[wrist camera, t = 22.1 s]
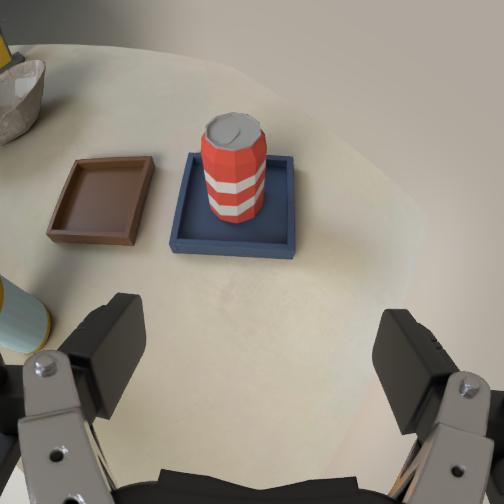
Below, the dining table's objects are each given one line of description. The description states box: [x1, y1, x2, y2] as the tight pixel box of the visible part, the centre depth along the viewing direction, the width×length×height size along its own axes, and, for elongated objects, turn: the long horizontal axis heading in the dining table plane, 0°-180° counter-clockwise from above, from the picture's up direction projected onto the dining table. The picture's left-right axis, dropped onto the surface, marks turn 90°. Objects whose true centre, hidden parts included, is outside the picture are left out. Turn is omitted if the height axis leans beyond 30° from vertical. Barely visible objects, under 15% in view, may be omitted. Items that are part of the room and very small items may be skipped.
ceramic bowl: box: [0, 60, 46, 146], centre depth 43 cm, size 22×23×10 cm
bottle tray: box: [46, 156, 155, 246], centre depth 38 cm, size 12×12×2 cm
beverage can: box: [201, 112, 267, 223], centre depth 33 cm, size 6×6×12 cm
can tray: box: [169, 153, 295, 259], centre depth 38 cm, size 14×14×2 cm
